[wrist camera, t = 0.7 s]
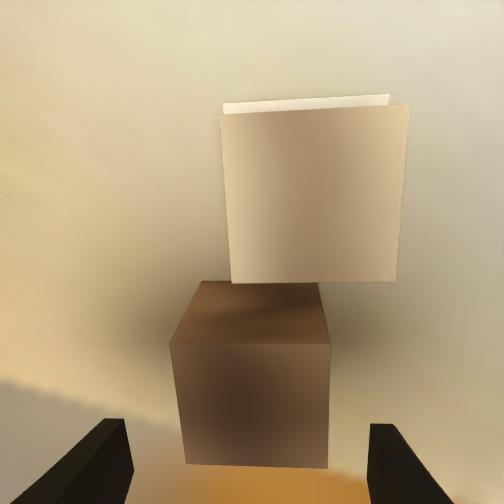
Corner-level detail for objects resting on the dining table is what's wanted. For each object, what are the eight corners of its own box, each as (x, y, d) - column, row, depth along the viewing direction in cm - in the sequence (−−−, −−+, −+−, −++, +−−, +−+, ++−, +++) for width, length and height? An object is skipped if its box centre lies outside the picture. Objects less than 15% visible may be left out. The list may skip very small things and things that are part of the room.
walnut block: (316, 278, 16) (330, 343, 11) (315, 376, 17) (327, 468, 13) (202, 280, 16) (169, 343, 12) (211, 374, 18) (186, 464, 13)
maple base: (374, 109, 13) (410, 103, 10) (367, 241, 15) (395, 281, 11) (237, 117, 14) (219, 114, 10) (244, 244, 15) (231, 283, 12)
